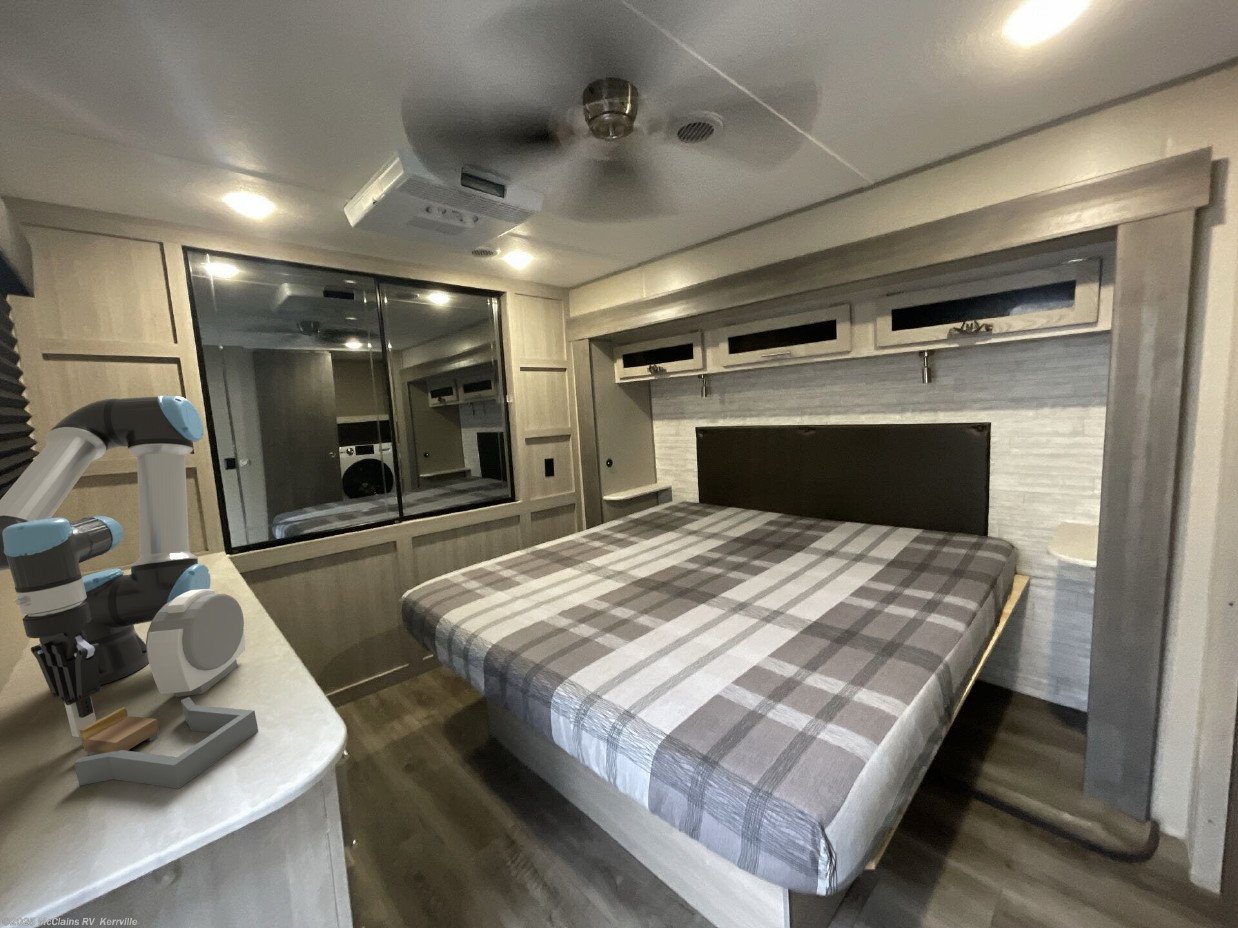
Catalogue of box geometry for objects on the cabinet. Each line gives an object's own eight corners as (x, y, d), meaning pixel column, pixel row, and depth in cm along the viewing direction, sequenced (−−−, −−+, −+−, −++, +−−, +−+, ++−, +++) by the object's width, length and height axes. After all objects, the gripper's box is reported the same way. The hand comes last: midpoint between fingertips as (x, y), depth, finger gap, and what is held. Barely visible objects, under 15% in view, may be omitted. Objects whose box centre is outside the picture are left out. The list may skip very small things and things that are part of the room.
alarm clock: (218, 660, 113) (202, 579, 111) (256, 656, 114) (241, 575, 111) (151, 709, 96) (130, 613, 93) (196, 704, 96) (177, 608, 94)
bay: (77, 785, 76) (71, 762, 76) (191, 715, 92) (186, 696, 92) (165, 798, 72) (160, 774, 72) (268, 723, 88) (264, 703, 88)
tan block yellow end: (85, 756, 83) (79, 729, 83) (127, 732, 89) (121, 707, 88) (120, 760, 81) (113, 733, 81) (160, 736, 87) (154, 710, 87)
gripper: (-2, 616, 81) (31, 742, 85) (52, 618, 78) (84, 749, 82) (58, 597, 89) (86, 715, 92) (109, 599, 86) (136, 720, 89)
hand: (85, 731), depth 87 cm, fingers closed
